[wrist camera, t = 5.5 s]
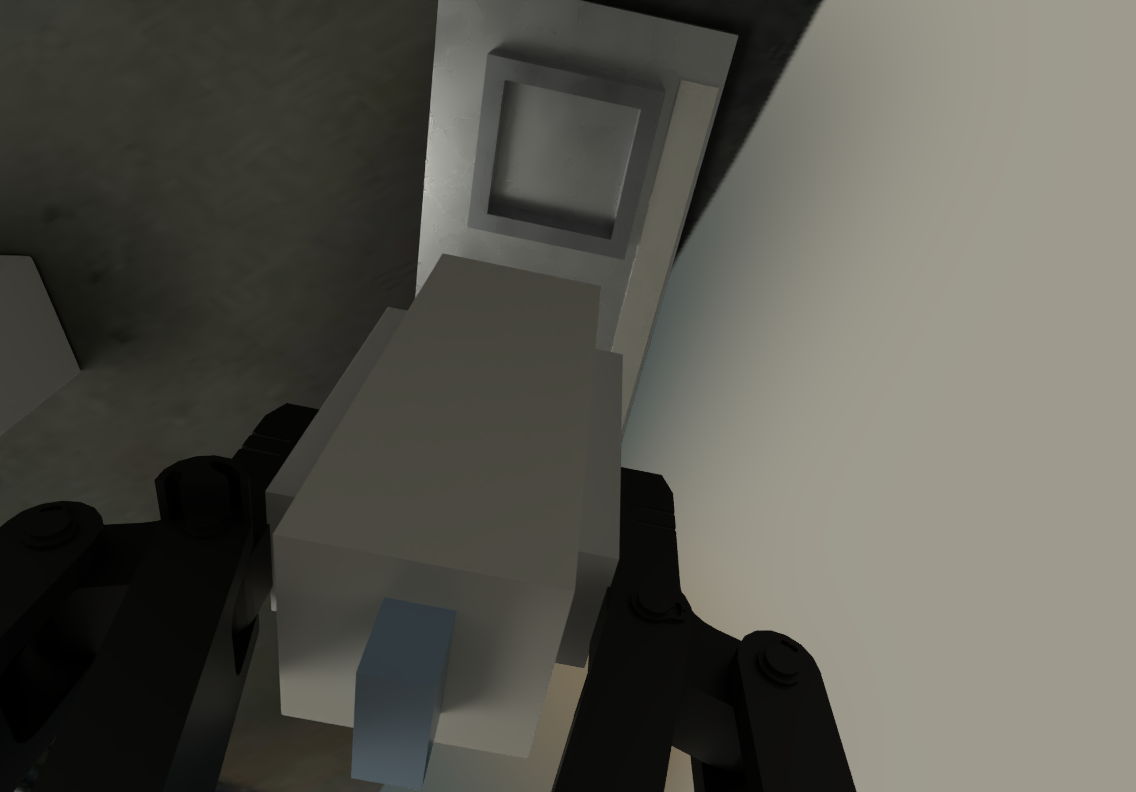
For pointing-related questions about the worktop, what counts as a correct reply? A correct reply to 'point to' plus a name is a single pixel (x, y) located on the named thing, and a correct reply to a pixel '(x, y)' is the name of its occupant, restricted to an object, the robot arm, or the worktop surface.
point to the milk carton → (29, 342)
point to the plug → (444, 525)
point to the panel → (570, 149)
